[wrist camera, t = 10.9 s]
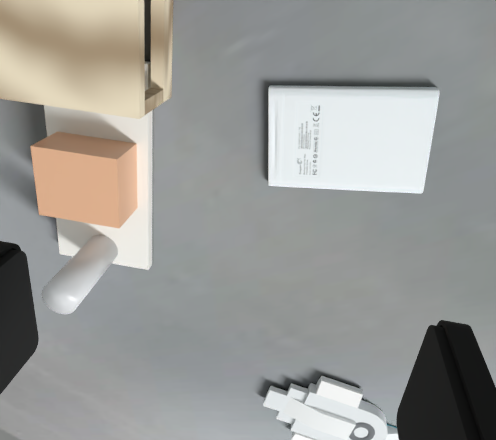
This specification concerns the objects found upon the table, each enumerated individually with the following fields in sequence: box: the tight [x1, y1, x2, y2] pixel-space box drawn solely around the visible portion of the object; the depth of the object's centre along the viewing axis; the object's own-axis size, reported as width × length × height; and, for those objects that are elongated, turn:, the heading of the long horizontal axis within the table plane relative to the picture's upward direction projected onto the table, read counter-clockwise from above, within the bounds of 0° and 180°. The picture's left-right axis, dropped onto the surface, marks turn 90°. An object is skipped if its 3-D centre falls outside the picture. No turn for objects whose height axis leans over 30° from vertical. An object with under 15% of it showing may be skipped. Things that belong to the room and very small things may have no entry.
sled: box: [31, 61, 152, 314], centre depth 37 cm, size 19×9×9 cm, turn 174°
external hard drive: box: [268, 85, 440, 193], centre depth 36 cm, size 2×8×12 cm
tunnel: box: [0, 0, 173, 119], centre depth 33 cm, size 10×12×7 cm
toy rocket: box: [263, 376, 399, 440], centre depth 50 cm, size 16×10×2 cm, turn 74°
